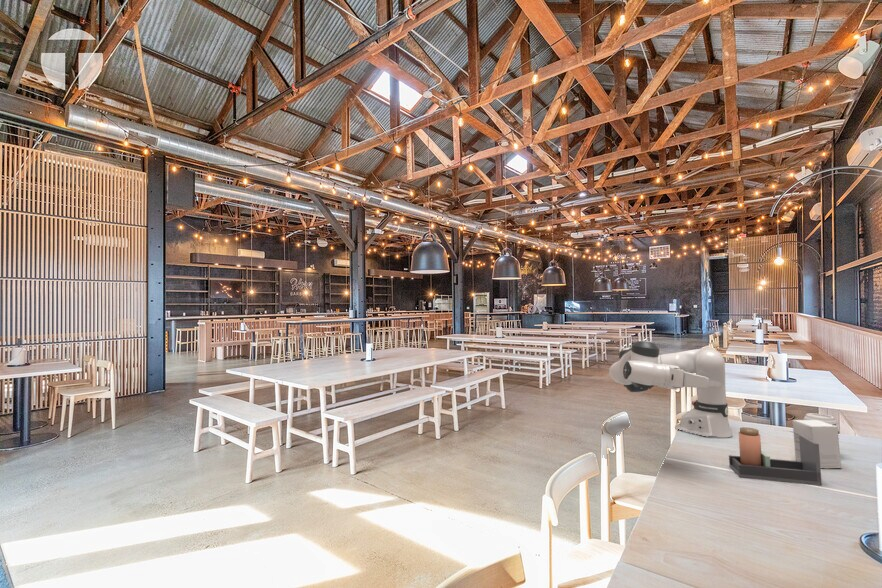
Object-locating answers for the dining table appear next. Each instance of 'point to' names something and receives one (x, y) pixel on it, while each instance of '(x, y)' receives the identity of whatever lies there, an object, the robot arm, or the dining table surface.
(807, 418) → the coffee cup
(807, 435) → the supplement box
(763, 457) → the pusher plate
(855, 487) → the dining table surface
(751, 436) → the jar
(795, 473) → the tray
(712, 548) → the dining table surface
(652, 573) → the dining table surface
